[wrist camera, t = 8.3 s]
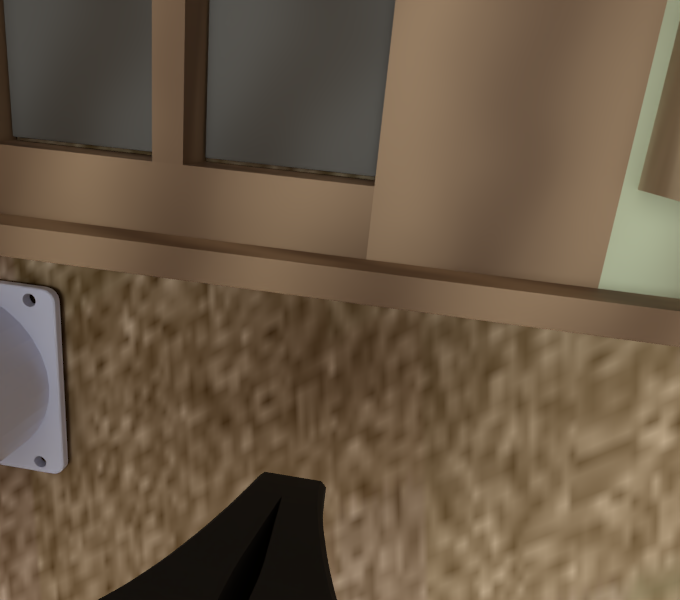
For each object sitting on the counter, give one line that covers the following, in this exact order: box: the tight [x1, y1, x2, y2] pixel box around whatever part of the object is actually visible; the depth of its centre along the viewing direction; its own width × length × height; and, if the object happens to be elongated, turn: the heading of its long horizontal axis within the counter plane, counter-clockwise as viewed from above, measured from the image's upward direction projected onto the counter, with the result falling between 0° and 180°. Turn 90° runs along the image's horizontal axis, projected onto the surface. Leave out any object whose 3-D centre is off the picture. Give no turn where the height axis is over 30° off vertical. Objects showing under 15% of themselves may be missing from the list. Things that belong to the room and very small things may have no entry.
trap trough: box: [0, 0, 680, 347], centre depth 16 cm, size 28×13×4 cm, turn 85°
